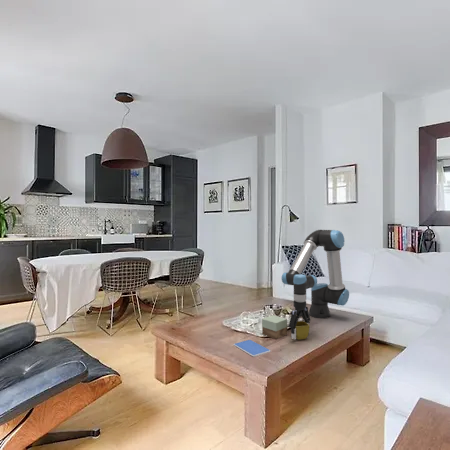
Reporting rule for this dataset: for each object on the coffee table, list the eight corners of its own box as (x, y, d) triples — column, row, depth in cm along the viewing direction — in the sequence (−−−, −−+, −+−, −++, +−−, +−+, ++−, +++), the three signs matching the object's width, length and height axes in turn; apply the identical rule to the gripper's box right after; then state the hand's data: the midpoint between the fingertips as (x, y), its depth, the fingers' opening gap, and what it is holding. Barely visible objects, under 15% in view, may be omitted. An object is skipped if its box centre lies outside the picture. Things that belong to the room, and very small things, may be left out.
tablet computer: (232, 345, 187) (232, 343, 187) (250, 341, 194) (250, 338, 194) (253, 358, 171) (253, 355, 171) (271, 352, 178) (271, 350, 178)
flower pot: (296, 341, 191) (296, 326, 191) (290, 336, 200) (290, 321, 199) (309, 340, 193) (309, 325, 192) (303, 334, 201) (303, 320, 201)
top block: (273, 322, 210) (273, 315, 210) (287, 326, 202) (287, 319, 202) (262, 326, 203) (262, 318, 203) (276, 331, 195) (276, 323, 195)
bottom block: (273, 330, 210) (273, 322, 210) (287, 334, 202) (287, 326, 202) (262, 334, 203) (262, 326, 203) (276, 339, 195) (276, 331, 195)
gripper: (305, 295, 206) (305, 329, 207) (282, 303, 190) (282, 339, 191) (316, 298, 201) (316, 332, 202) (293, 305, 184) (293, 343, 185)
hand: (299, 335), depth 196 cm, fingers open, 12 cm apart
